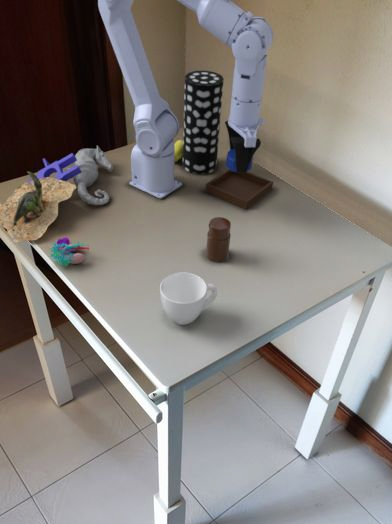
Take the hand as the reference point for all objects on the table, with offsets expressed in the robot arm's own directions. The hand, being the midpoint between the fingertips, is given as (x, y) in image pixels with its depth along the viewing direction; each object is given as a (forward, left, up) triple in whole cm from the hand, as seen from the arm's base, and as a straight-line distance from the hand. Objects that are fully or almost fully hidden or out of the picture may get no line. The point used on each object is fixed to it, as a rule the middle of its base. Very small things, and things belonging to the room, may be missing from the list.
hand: (238, 164), depth 103 cm
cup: (+14, -34, -10) cm, 38 cm away
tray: (-2, +6, -10) cm, 11 cm away
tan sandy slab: (-31, -33, -2) cm, 45 cm away
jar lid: (0, 0, +2) cm, 2 cm away
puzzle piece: (-33, -21, -7) cm, 40 cm away
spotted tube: (-16, +9, -10) cm, 21 cm away
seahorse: (-21, -20, -9) cm, 30 cm away
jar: (+8, -17, -10) cm, 21 cm away
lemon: (-24, +8, -6) cm, 26 cm away
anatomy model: (-10, -34, -8) cm, 36 cm away
